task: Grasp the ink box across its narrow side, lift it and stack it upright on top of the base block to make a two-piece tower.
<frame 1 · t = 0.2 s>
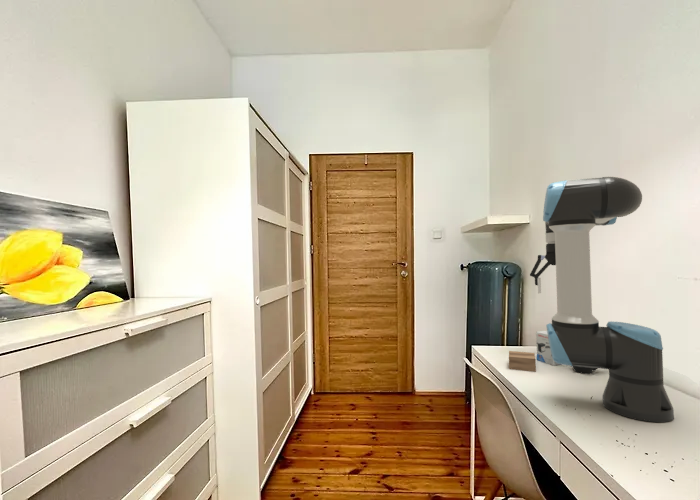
hand: (557, 293, 147), 27 cm above the table, fingers open, 13 cm apart
base block: (522, 367, 136), on the table
ink box: (549, 362, 141), on the table
mug: (588, 372, 129), on the table
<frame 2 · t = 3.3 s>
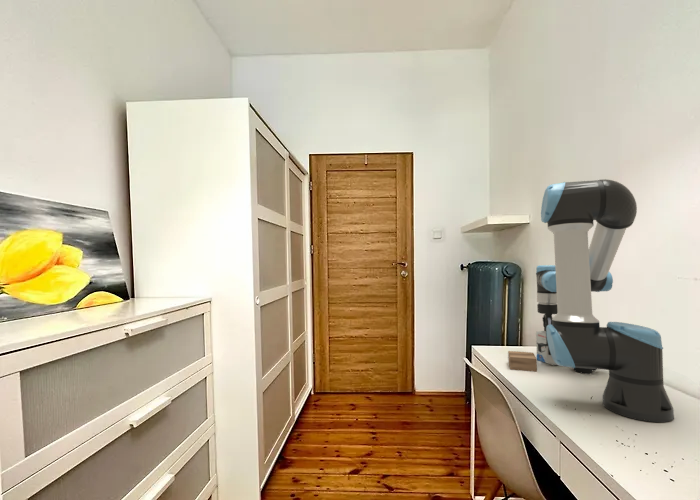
hand: (549, 359, 141), 1 cm above the table, fingers closed on ink box, 9 cm apart
ink box: (549, 362, 141), on the table, touching gripper
everything else where it was.
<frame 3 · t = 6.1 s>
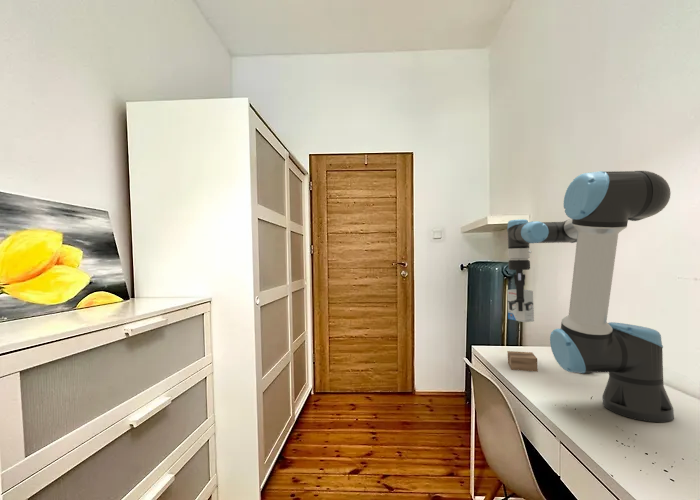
hand: (520, 317, 136), 19 cm above the table, fingers closed on ink box, 9 cm apart
ink box: (520, 320, 136), point 18 cm above the table, touching gripper
everything else where it was.
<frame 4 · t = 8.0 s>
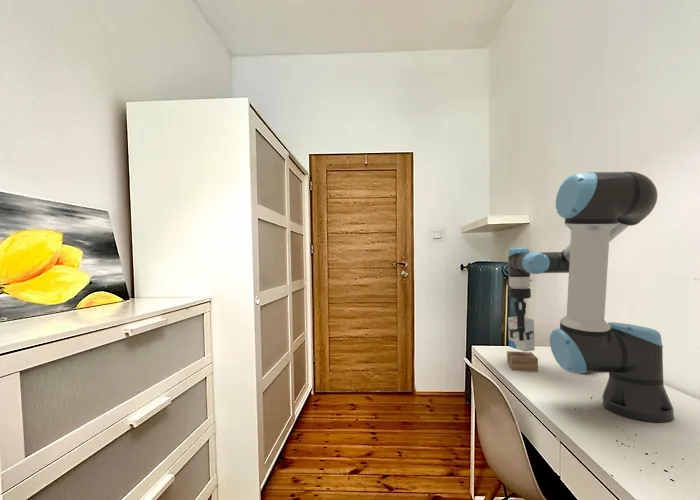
hand: (521, 345, 136), 8 cm above the table, fingers closed on ink box, 9 cm apart
ink box: (521, 349, 136), point 7 cm above the table, touching gripper
everything else where it was.
when the fingers open (8 cm above the table, at t = 9.2 s): ink box drops 2 cm, point 5 cm above the table.
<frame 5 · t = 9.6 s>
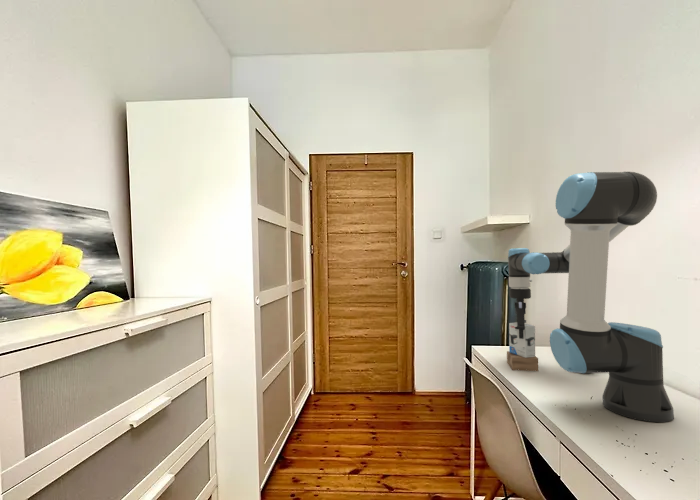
hand: (521, 343, 136), 9 cm above the table, fingers open, 13 cm apart
ink box: (522, 355, 136), point 5 cm above the table
everything else where it was.
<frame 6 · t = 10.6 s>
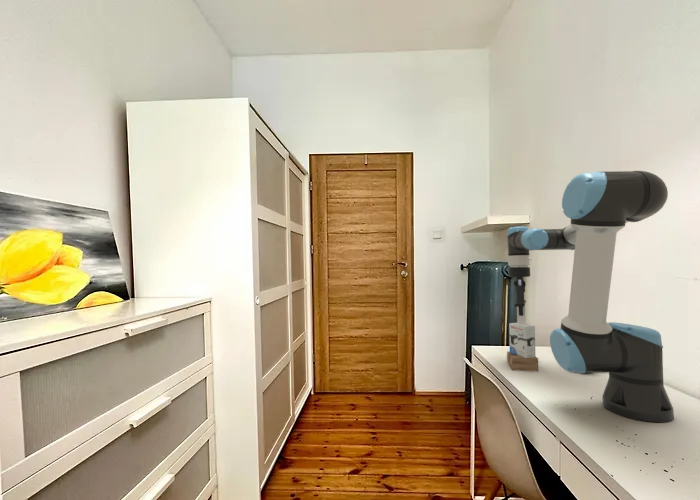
hand: (521, 321, 136), 17 cm above the table, fingers open, 13 cm apart
base block: (522, 367, 136), on the table, touching ink box
ink box: (522, 355, 136), point 4 cm above the table, touching base block
everything else where it was.
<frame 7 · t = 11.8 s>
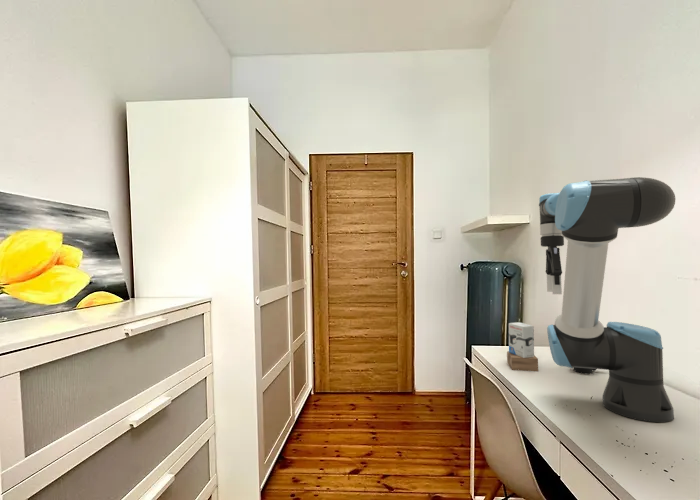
hand: (554, 293, 130), 29 cm above the table, fingers open, 13 cm apart
nothing on the table moved.
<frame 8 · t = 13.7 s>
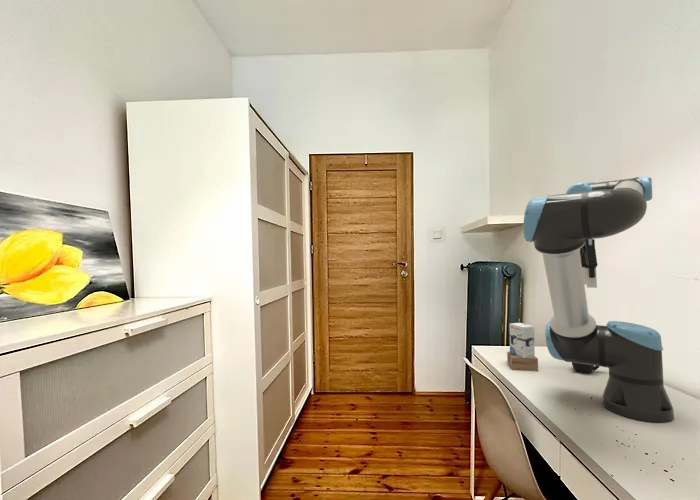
hand: (588, 286, 125), 32 cm above the table, fingers open, 13 cm apart
nothing on the table moved.
at the end: ink box 0.2 cm from the base block (horizontally); ink box point 4.3 cm above the table; ink box tilted 1° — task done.
